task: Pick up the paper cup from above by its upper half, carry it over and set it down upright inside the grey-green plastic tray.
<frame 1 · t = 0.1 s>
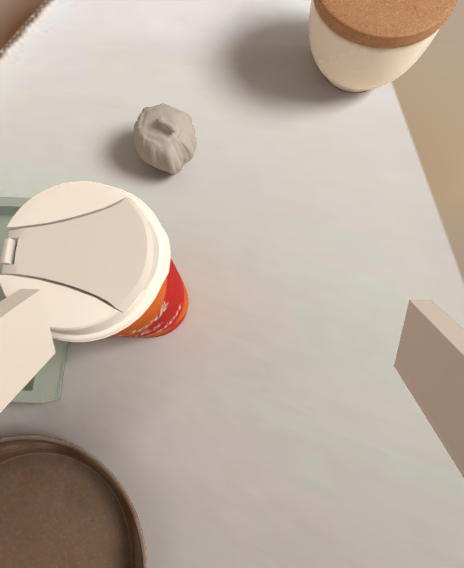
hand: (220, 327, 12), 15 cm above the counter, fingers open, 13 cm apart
lidded jar: (353, 67, 33), on the counter
paper cup: (157, 303, 28), on the counter
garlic: (171, 155, 32), on the counter
plant saucer: (39, 555, 25), on the counter
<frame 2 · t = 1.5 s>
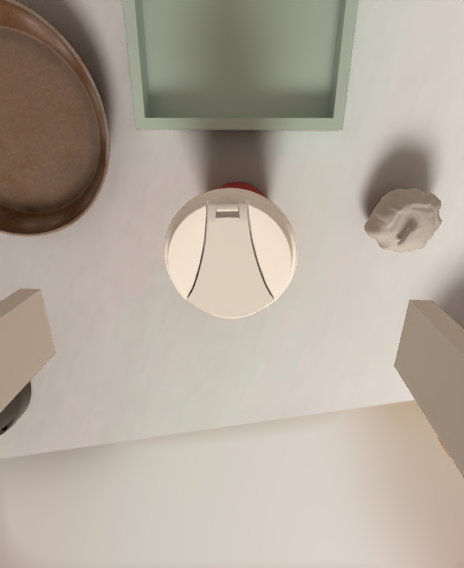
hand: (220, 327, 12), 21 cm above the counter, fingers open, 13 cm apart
tray: (240, 12, 25), on the counter
paper cup: (238, 213, 31), on the counter
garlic: (391, 215, 31), on the counter
plant saucer: (23, 129, 30), on the counter
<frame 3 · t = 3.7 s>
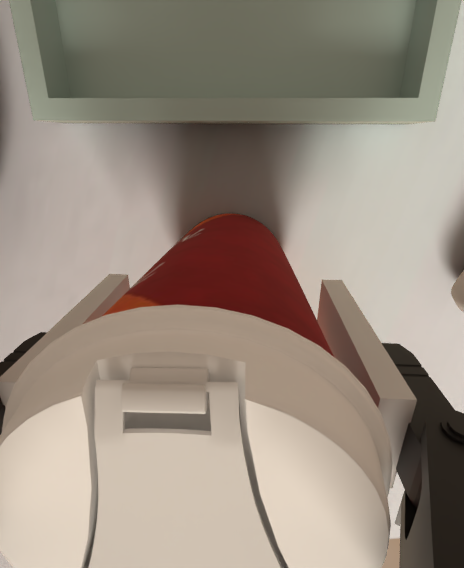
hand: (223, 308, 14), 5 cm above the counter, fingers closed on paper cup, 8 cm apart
paper cup: (231, 263, 19), on the counter, touching gripper
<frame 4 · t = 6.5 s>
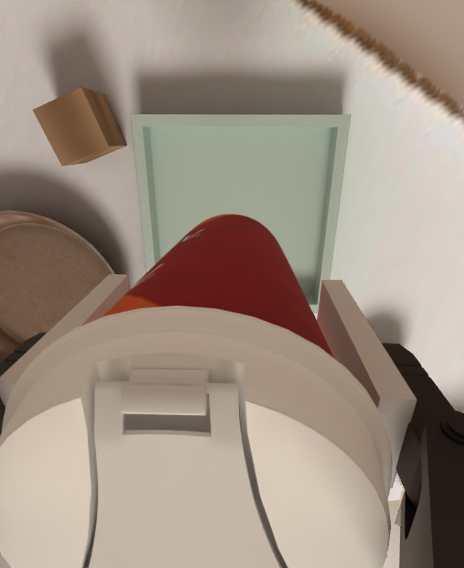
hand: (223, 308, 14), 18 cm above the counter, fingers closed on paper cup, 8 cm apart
tray: (238, 217, 30), on the counter
walnut block: (94, 129, 28), on the counter
paper cup: (231, 263, 19), point 12 cm above the counter, touching gripper
plant saucer: (52, 291, 35), on the counter
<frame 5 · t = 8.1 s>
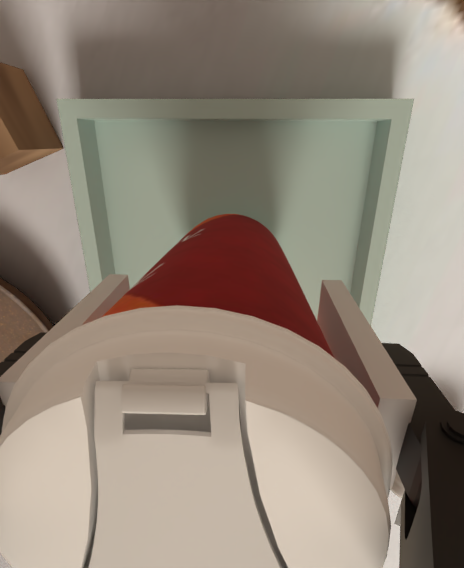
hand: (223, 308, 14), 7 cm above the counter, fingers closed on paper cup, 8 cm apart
tray: (232, 252, 21), on the counter
walnut block: (14, 125, 19), on the counter
paper cup: (231, 263, 19), point 2 cm above the counter, touching gripper
when the fingers open (6 cm above the counter, at t = 9.2 s): paper cup stays where it is, resting on tray.
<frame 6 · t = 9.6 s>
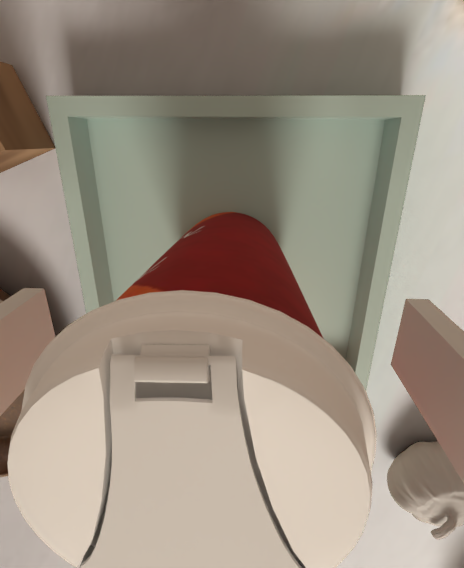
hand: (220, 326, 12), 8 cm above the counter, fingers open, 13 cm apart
tray: (232, 257, 20), on the counter
walnut block: (3, 123, 18), on the counter
paper cup: (230, 260, 19), resting on tray
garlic: (419, 452, 25), on the counter
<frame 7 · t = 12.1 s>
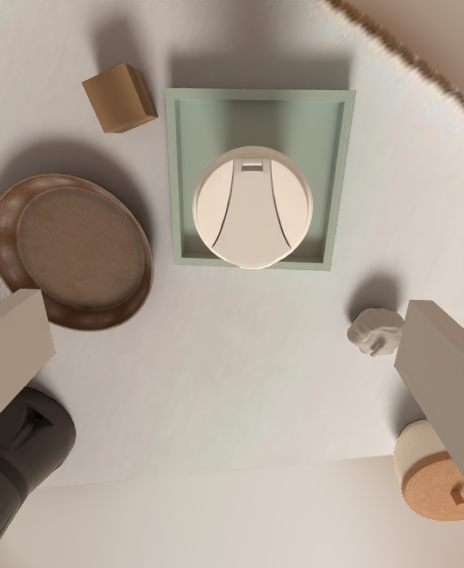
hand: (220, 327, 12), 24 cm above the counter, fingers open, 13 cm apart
lidded jar: (422, 435, 45), on the counter
tray: (254, 184, 34), on the counter
walnut block: (130, 103, 32), on the counter
paper cup: (254, 185, 33), resting on tray
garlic: (369, 320, 39), on the counter
plant saucer: (84, 251, 39), on the counter
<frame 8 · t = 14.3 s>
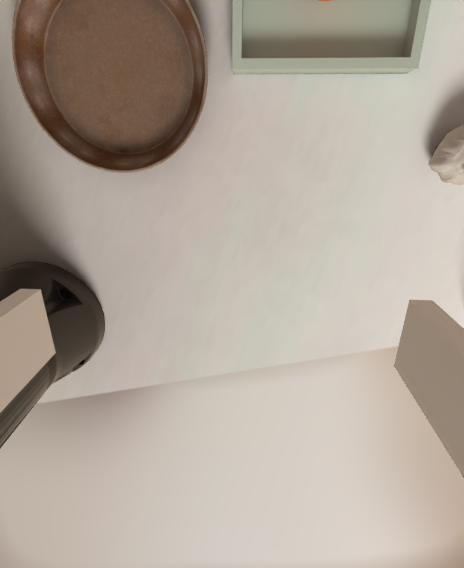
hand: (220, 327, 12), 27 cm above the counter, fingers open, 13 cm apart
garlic: (451, 154, 34), on the counter
plant saucer: (122, 75, 33), on the counter
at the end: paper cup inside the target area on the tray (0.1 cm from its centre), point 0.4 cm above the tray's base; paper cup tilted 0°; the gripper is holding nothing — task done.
